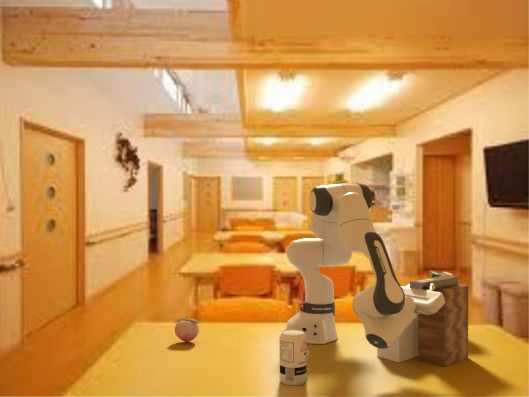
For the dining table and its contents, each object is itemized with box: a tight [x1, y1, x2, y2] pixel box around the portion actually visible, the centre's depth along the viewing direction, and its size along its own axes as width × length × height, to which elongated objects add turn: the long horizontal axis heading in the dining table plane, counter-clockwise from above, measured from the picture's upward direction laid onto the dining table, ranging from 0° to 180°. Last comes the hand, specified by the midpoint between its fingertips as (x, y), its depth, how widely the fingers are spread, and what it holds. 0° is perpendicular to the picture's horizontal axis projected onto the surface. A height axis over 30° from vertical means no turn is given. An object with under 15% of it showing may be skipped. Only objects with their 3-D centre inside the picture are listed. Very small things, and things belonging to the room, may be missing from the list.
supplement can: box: [279, 329, 308, 386], centre depth 175 cm, size 8×8×15 cm
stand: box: [417, 283, 469, 368], centre depth 198 cm, size 15×10×25 cm, turn 131°
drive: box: [409, 275, 459, 290], centre depth 194 cm, size 22×4×3 cm, turn 131°
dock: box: [376, 316, 418, 363], centre depth 202 cm, size 14×9×18 cm, turn 131°
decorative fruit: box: [174, 316, 200, 343], centre depth 219 cm, size 9×8×10 cm
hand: (424, 283), depth 190 cm, fingers closed on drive, 4 cm apart
